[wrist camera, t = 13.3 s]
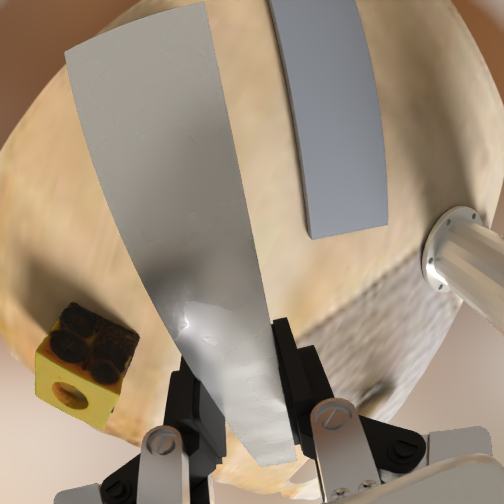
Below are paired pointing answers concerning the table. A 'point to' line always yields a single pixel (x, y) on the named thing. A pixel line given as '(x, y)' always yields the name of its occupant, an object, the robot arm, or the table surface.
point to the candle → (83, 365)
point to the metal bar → (185, 209)
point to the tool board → (333, 114)
